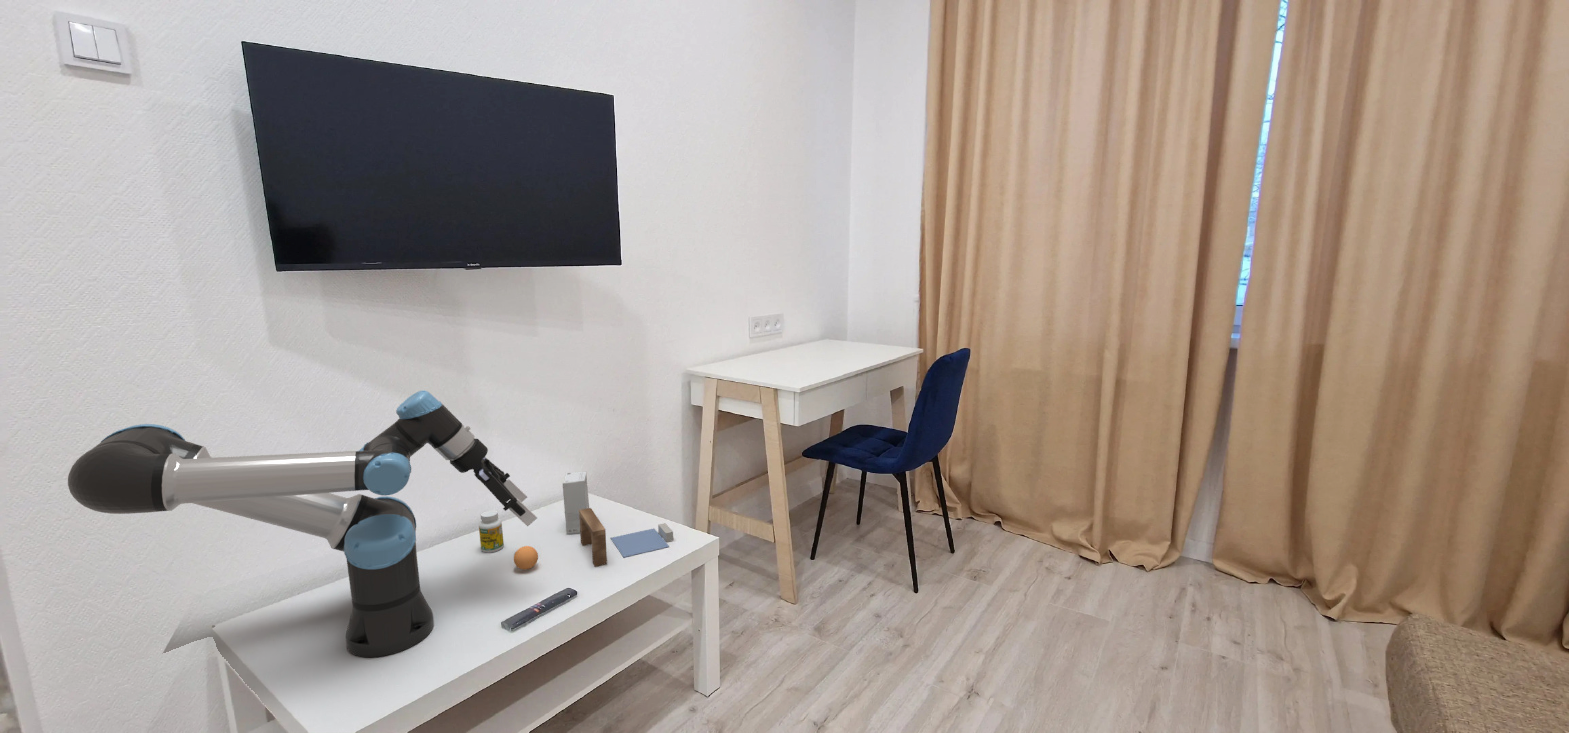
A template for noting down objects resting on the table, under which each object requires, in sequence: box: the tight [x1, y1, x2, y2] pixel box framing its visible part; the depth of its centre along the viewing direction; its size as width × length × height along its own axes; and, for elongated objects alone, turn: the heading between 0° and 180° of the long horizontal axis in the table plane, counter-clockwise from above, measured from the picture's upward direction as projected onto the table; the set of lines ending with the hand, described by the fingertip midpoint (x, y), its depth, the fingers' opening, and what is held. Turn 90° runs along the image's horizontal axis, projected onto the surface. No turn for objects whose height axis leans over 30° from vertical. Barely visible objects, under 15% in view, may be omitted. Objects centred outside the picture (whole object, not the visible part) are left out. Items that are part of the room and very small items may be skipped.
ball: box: [513, 545, 539, 571], centre depth 158 cm, size 6×6×6 cm
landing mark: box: [610, 527, 670, 559], centre depth 172 cm, size 12×12×1 cm
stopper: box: [657, 522, 674, 543], centre depth 176 cm, size 2×6×2 cm, turn 30°
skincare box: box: [562, 471, 590, 535], centre depth 180 cm, size 8×6×15 cm
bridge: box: [579, 507, 608, 568], centre depth 166 cm, size 3×14×9 cm, turn 30°
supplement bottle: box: [478, 509, 504, 554], centre depth 168 cm, size 5×5×10 cm
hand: (527, 510), depth 155 cm, fingers open, 13 cm apart
